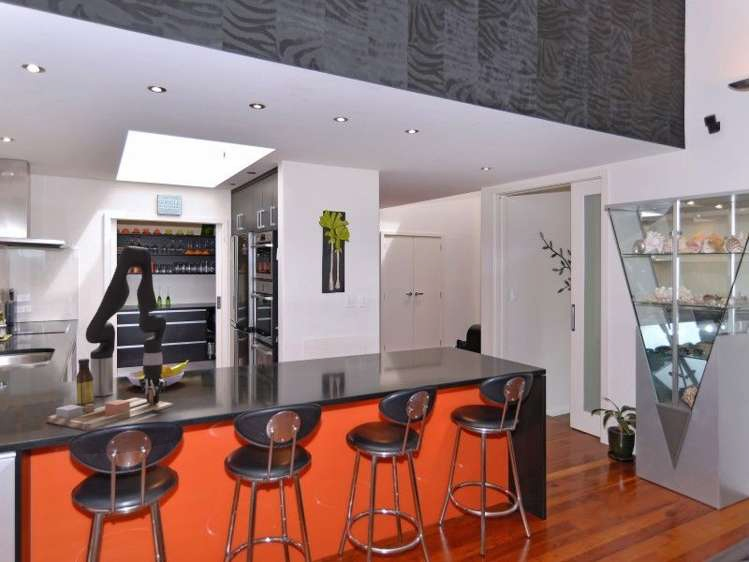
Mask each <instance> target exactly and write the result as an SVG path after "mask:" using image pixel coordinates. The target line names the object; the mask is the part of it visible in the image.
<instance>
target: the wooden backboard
mask: <svg viewBox="0 0 749 562" xmlns="http://www.w3.org/2000/svg"><path fill="white" fill-rule="evenodd" d="M125 401H130V407H132V406H135V405H138V404H142V403H145V402H147V398H140V397H132V398H128V399H125ZM172 406H174V405H173V403H172V402H166V401H160V400H159V403H158V404H146V405H143V406H139V407H136V408H133V409H130V412H128V411H126V412H123V413H119V414H116V415H113V416H105V405H104V406H100V407H97V408H94V412H93V413H89V414H86V415H82V416H78V417H75V418H71V419H65V418H59V417H56V413H55V414H51V415H48V416H46V420H47V421H46V422H47V423H50V424H54V425H55V424H56V425H59V426H67V427H70V428H75V429H80V430H85V431H89V430H93V429H96V428H99V427H102V426H105V425H109V424H112V423H115V422H118V421H121V420H122V421H123V420H125V419H127V418H131V417H135V416H137V415H140V414H143V413H146V412H151V411H153V410H154V411H160V410H164V409H167V408H169V407H172ZM82 407H83V414H85V413H86V405H84V406H82Z"/></svg>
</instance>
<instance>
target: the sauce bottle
mask: <svg viewBox="0 0 749 562" xmlns="http://www.w3.org/2000/svg"><path fill="white" fill-rule="evenodd" d="M77 362H78V372H77V374H76V376H75V377H76V378H75V379H76V399H77V400H76V401H77V406H86V404H94V402H95V397H94V389H93V377H92V374H91V369H90V358H78V361H77Z"/></svg>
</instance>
